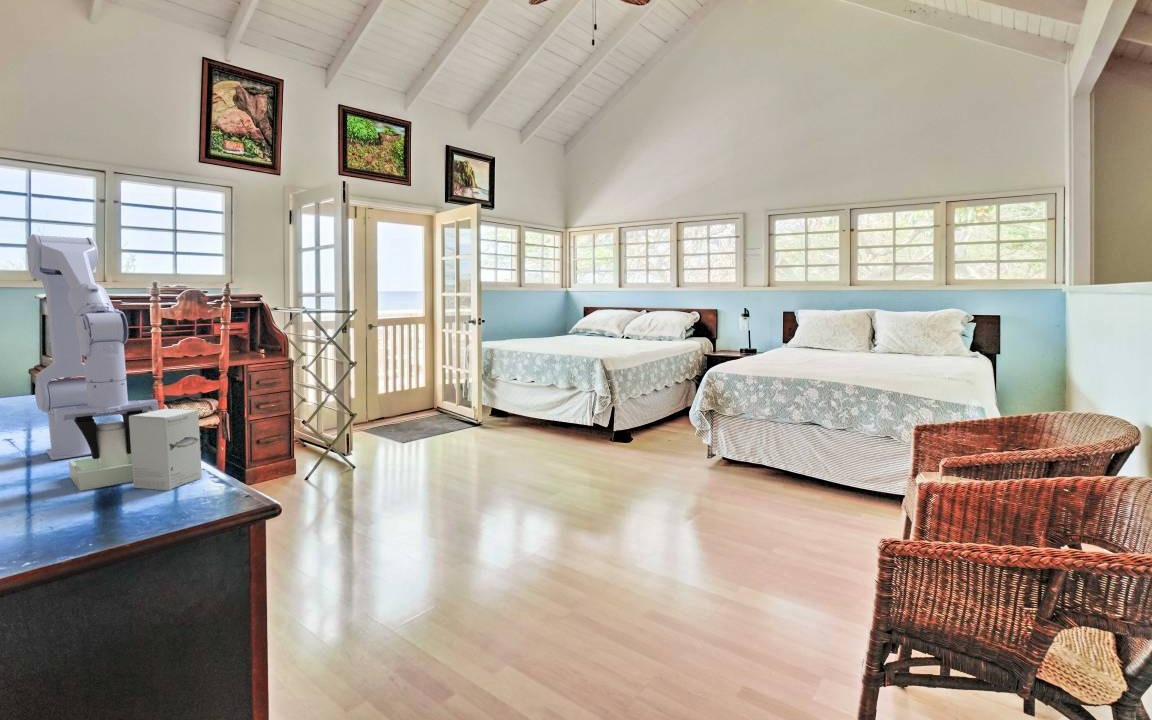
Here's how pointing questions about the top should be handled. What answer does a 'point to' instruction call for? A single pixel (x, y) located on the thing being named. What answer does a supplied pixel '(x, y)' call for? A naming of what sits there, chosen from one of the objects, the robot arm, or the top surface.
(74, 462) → the tray
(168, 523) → the top surface
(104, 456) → the shaker
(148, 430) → the supplement box
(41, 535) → the top surface
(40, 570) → the top surface
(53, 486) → the top surface
